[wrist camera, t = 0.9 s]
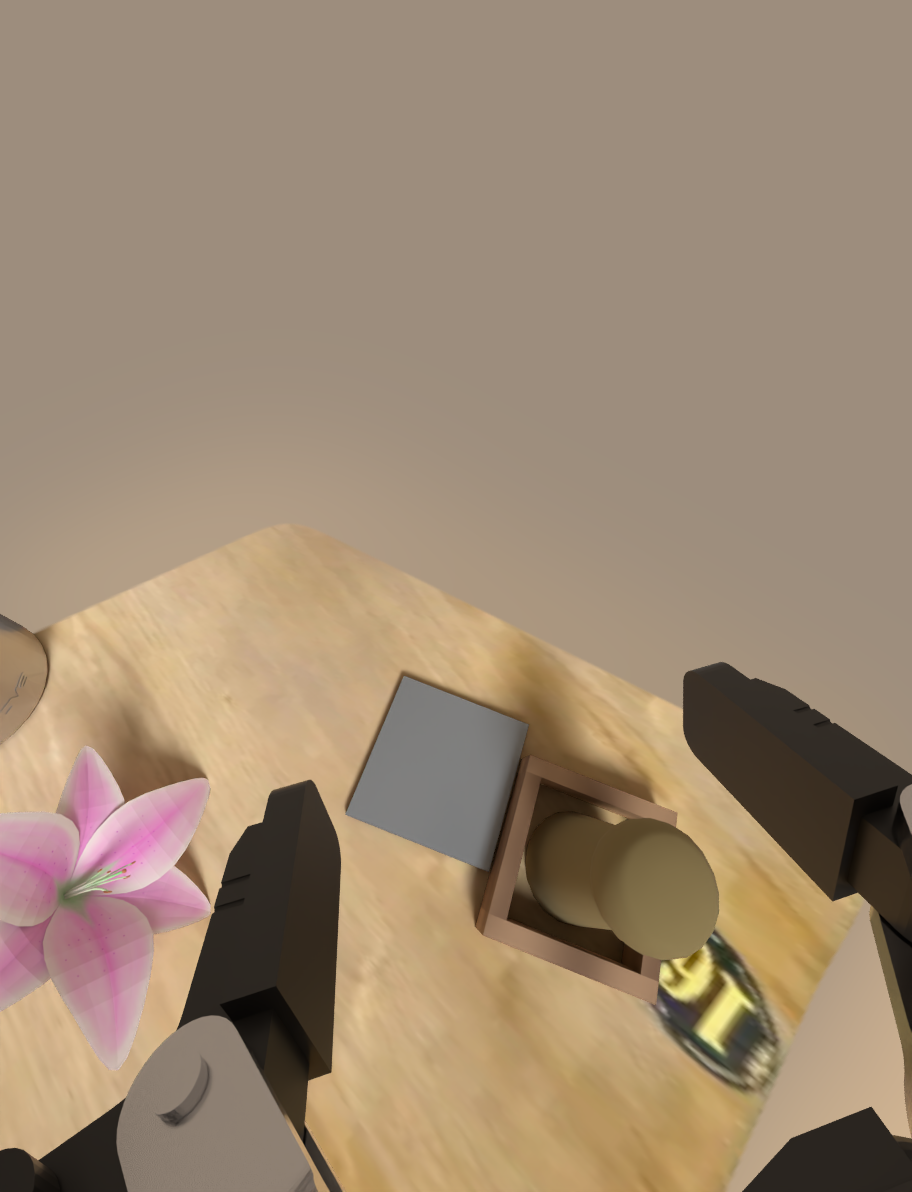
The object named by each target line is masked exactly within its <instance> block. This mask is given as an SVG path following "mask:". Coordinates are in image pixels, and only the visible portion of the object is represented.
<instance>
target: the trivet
mask: <svg viewBox="0 0 912 1192" xmlns="http://www.w3.org/2000/svg"><path fill="white" fill-rule="evenodd" d="M528 726H529V725H528V724H526V723H523V722H521V721H518V720H516V719H513V718H511V717H508V716H505V715H503V714H500V713H498V712H495V711H493V710H490V709H488V708H485V707H483V706H480V705H477V704H475V703H472V702H470V701H467V700H465V699H462V698H460V697H457V696H455V695H452V694H449V693H447V692H444V691H442V690H439V689H437V688H434V687H432V686H429V685H426V684H424V683H421V682H419V681H416V680H414V679H411V678H409V677H406V676H404V677H403V679H402V681H401V684H400V686H399V689H398V691H397V693H396V696H395V698H394V700H393V703H392V705H391V708H390V710H389V712H388V715H387V717H386V719H385V722H384V724H383V726H382V729H381V731H380V734H379V736H378V738H377V741H376V743H375V745H374V748H373V750H372V753H371V755H370V757H369V760H368V762H367V764H366V767H365V769H364V772H363V774H362V776H361V779H360V781H359V783H358V786H357V788H356V791H355V793H354V795H353V798H352V800H351V802H350V805H349V807H348V809H347V812H346V814H345V815H348V816H350V817H353V818H355V819H358V820H360V821H363V822H365V823H368V824H370V825H373V826H375V827H378V828H380V829H383V830H385V831H388V832H390V833H393V834H395V835H398V836H400V837H403V838H405V839H408V840H410V841H413V842H415V843H418V844H420V845H423V846H425V847H428V848H430V849H433V850H435V851H438V852H440V853H443V854H445V855H448V856H450V857H453V858H455V859H458V860H460V861H463V862H465V863H468V864H470V865H473V866H475V867H478V868H480V869H483V870H485V871H488V872H489V869H490V865H491V862H492V858H493V854H494V851H495V847H496V843H497V840H498V836H499V832H500V829H501V825H502V821H503V818H504V814H505V810H506V807H507V803H508V800H509V796H510V792H511V789H512V785H513V781H514V778H515V774H516V770H517V767H518V763H519V759H520V756H521V752H522V748H523V745H524V741H525V737H526V734H527V730H528Z"/></svg>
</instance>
